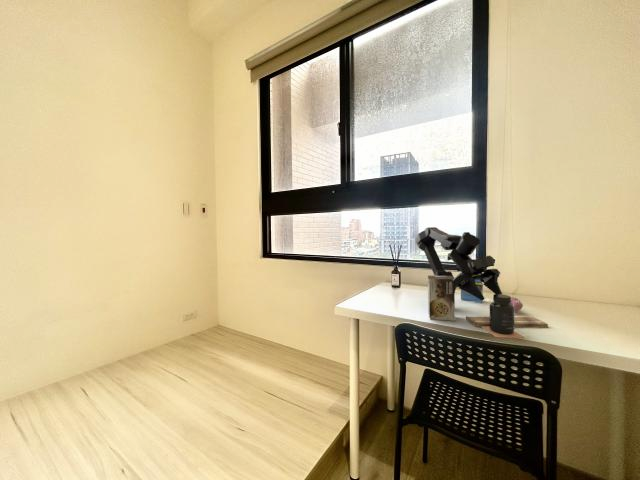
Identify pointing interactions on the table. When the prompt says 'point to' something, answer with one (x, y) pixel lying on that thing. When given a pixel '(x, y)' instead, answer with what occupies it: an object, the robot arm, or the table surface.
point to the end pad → (497, 335)
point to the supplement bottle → (501, 315)
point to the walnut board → (517, 321)
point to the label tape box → (470, 297)
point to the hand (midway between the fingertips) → (492, 297)
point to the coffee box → (441, 298)
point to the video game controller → (516, 304)
